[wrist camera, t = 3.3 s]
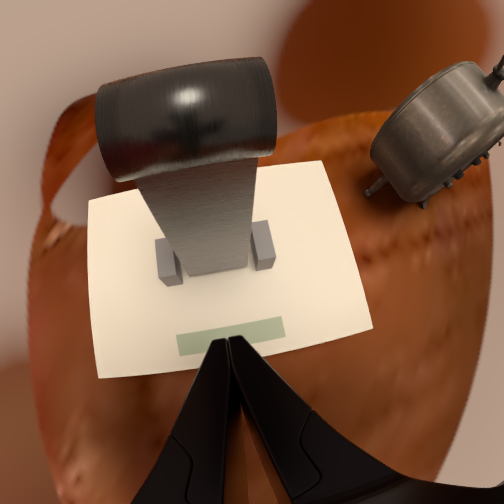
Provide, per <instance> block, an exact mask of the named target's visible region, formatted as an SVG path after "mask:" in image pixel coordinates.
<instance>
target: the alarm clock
mask: <svg viewBox="0 0 504 504" xmlns="http://www.w3.org/2000/svg"><path fill="white" fill-rule="evenodd" d="M503 65H504V55H503V56H502V59H501V60H500V62H499V64H498V65H496V66H494V68H493V72H492V73H491V74H489V76H487V75H486V74H485V73H484V72H483V71H482V70H481V69H480V68H479V67H478V65H477V64H476V63H474V62H470V61H463V62H459V63H456V64H454V65H451V66H449V67H448V68H445V69H443V70H442V71H440V72H438V73H437V74H435V75H434V76H432V77H430V78H429V79H428V80H427V81H425V82H423V84H422V85H420V86H419V87H418V88H417V89H416V90H415V91H414V92H412V93H411V94H410V95H409V96H408V97H407V98H406V99H405V100H404V101H403V103H401V104H400V105H399V106H398V108H397V109H396V110H395V111H394V112H393V113H392V114H391V116H390V117H389V118H388V119H387V121H386V122H385V123H384V124H383V126H382V127H381V129H380V130H379V132H378V134H377V135H376V137H375V139H374V141H373V143H372V145H371V149H370V157H371V159H372V161H374V162H375V164H376V165H377V166H378V167H379V169H380V170H381V171H382V173H383V175H382V176H381V177H380V178H379V179H378V180H376V182H375V183H374V184H373V185H372V186H371V187H370V189H366V190H365V191H364V196H365V197H371V195H372V194H373V193H374V192H375V191H377V190H379V189H380V188H382V187H384V186H385V185H386V184H387V183H389V182H390V184H391V185H392V186H393V188H394V189H395V191H396V192H397V194H398V195H399V196H400V198H401V199H402V200H404V201H406V202H411V203H416V202H421V201H423V200H424V201H423V208H426V206H427V203H428V200H429V198H430V196H433V195H434V194H435V193H437V192H438V191H439V190H440V189H441V188H443V187H444V186H445V188H447V189H448V188H450V187H451V186H452V182H451V181H452V180H453V179H457V180H459V179H460V178H462V177H463V176H464V174H463V171H465V170H466V169H467V168H468V167H470V166H471V165H472V164H473V165H479V164H480V163H481V161H480V159H479V158H480V157H482V156H483V157H484V158H485V159H488V158H489V153H488V152H487V151H489V150H490V149H491V148H492V147H493V146H494V145H495V144H496V143H497V142H499V140H501V138H502V137H504V95H503V94H502V92H501V91H500V90H499V89H498V86H499V84H500V83H501V81H502V80H504V68H503ZM501 144H502V143H501V142H499V146H500V145H501Z"/></svg>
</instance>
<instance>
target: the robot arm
mask: <svg viewBox="0 0 504 504" xmlns="http://www.w3.org/2000/svg"><path fill="white" fill-rule="evenodd" d="M227 340H228V341H227ZM240 403H241V404H240ZM241 407H242V409H241ZM242 410H243V413H244V416H245V419H246V422H247V425H248V427H249V430H250V433H251V435H252V438H253V441H254V443H255V446H256V449H257V451H258V454H259V456H260V459H261V461H262V464H263V467H264V469H265V472H266V474H267V476H268V479H269V481H270V484H271V486H272V489H273V491H274V493H275V496H276V498H277V501H278V503H279V504H504V481H503V482H501V483H500V484H499V485H497V486H496V487H492V488H474V487H465V486H456V485H449V484H441V483H435V482H430V481H424V480H419V479H414V478H411V477H408V476H405V475H403V474H401V473H399V472H397V471H395V470H393V469H391V468H390V467H388V466H386V465H385V464H383V463H382V462H380V461H379V460H377V459H376V458H374V457H373V456H371V455H369V454H368V453H366V452H365V451H364V450H362V449H361V448H359V447H358V446H356V445H355V444H353V443H352V442H351V441H349V440H348V439H347V438H345V437H344V436H343V435H341V434H340V433H339V432H337V431H336V430H335V429H334V428H333V427H332V426H330V425H329V424H328V423H327V422H326V421H325V420H324V419H323V418H322V417H321V416H320V415H319V414H318V413H317V412H316V411H315V410H312V408H311V407H310V406H309V405H308V404H307V403H306V402H305V401H304V400H303V399H302V398H301V397H300V396H299V395H298V394H297V393H296V392H295V391H294V390H293V389H292V388H291V386H290V385H289V384H288V383H287V382H286V381H285V380H284V379H283V378H282V377H281V376H280V375H279V374H278V373H277V372H276V371H275V370H274V369H273V368H272V367H271V366H270V365H269V364H268V362H267V361H266V360H265V359H264V358H263V357H262V356H261V355H260V354H259V353H258V352H257V351H256V350H255V348H254V347H253V346H252V345H251V344H250V343H249V342H248V341H247V340H246V339H245V338H244V336H242V335H236V336H230V337H228V339H226V338H219V339H214V340H212V341H211V343H210V345H209V348H208V350H207V352H206V354H205V356H204V359H203V361H202V363H201V365H200V367H199V370H198V372H197V374H196V376H195V379H194V381H193V383H192V385H191V387H190V390H189V392H188V394H187V396H186V398H185V401H184V403H183V405H182V407H181V410H180V412H179V414H178V416H177V418H176V421H175V423H174V425H173V427H172V430H171V432H170V434H171V435H169V436H168V438H167V440H166V443H165V445H164V447H163V449H162V451H161V453H160V455H159V457H158V459H157V461H156V463H155V465H154V466H153V468H152V470H151V471H150V473H149V475H148V476H147V478H146V480H145V481H144V483H143V484H142V486H141V487H140V489H139V491H138V492H137V494H136V495H135V497H134V498H133V500H132V501H131V503H130V504H249V503H248V491H247V478H246V464H245V451H244V436H243V421H242Z"/></svg>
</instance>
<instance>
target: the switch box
mask: <svg viewBox="0 0 504 504" xmlns="http://www.w3.org/2000/svg"><path fill="white" fill-rule="evenodd" d="M88 285H89V302H90V315H91V326H92V335H93V343H94V351H95V358H96V365H97V371H98V377H99V378H112V377H125V376H137V375H147V374H156V373H165V372H173V371H181V370H188V369H195V368H199V367H200V365H201V363H202V361H203V359H204V356H205V354H206V352H207V350H208V348H209V345H210V343H211V341H212V340H214V339H219V338H226V339H228V337H230V336H236V335H242V336H244V338H245V339H246V340H247V341H248V342H249V343H250V344H251V345H252V346H253V347H254V348H255V350H256V351H257V352H258V353H259V354H260V355H261V356H262V357H263V356H268V355H273V354H277V353H282V352H286V351H291V350H295V349H299V348H304V347H308V346H312V345H316V344H320V343H324V342H327V341H331V340H335V339H338V338H342V337H346V336H349V335H353V334H356V333H360V332H363V331H366V330H370V329H373V326H372V322H371V317H370V313H369V309H368V305H367V301H366V298H365V294H364V290H363V286H362V283H361V279H360V275H359V272H358V268H357V265H356V262H355V258H354V255H353V251H352V248H351V245H350V242H349V238H348V235H347V232H346V229H345V226H344V223H343V220H342V217H341V214H340V211H339V208H338V205H337V202H336V199H335V196H334V193H333V191H332V188H331V185H330V182H329V180H328V177H327V174H326V171H325V169H324V166H323V163H322V161H311V162H301V163H292V164H283V165H275V166H267V167H260V168H257V174H256V184H255V194H254V205H253V215H252V225H251V235H250V245H249V256H248V266H245V267H239V268H234V269H228V270H222V271H217V272H211V273H205V274H200V275H194V276H189V275H188V274H187V272H186V271H185V269H184V267H183V266H182V264H181V262H180V261H179V259H178V257H177V256H176V254H175V252H174V251H173V249H172V247H171V246H170V244H169V242H168V241H167V239H166V237H165V236H164V234H163V232H162V230H161V229H160V227H159V225H158V223H157V222H156V220H155V218H154V217H153V215H152V213H151V211H150V209H149V208H148V206H147V204H146V202H145V201H144V199H143V197H142V195H141V193H140V191H139V190H138V189H136V190H131V191H126V192H122V193H118V194H113V195H109V196H105V197H101V198H98V199H93V200H89V209H88ZM227 341H228V340H227Z"/></svg>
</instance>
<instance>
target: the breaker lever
mask: <svg viewBox="0 0 504 504" xmlns="http://www.w3.org/2000/svg"><path fill="white" fill-rule="evenodd" d="M95 125H96V133H97V139H98V144H99V147H100V151H101V154H102V157H103V160H104V163H105V165H106V167H107V169H108V171H109V173H110V174H111V176H112V177H113V178H114V179H115V180H116V181H118V182H123V181H127V180H132V179H133V180H134V182H135V184H136V186H137V188H138V190H139V191H140V193H141V195H142V197H143V199H144V201H145V202H146V204H147V206H148V208H149V209H150V211H151V213H152V215H153V217H154V218H155V220H156V222H157V223H158V225H159V227H160V229H161V230H162V232H163V234H164V236H165V237H166V239H167V241H168V242H169V244H170V246H171V247H172V249H173V251H174V252H175V254H176V256H177V257H178V259H179V261H180V262H181V264H182V266H183V267H184V269H185V271H186V272H187V274H188V275H189V276H194V275H200V274H205V273H211V272H217V271H222V270H228V269H234V268H239V267H245V266H248V256H249V245H250V235H251V225H252V215H253V205H254V194H255V184H256V174H257V164H258V157H263V156H270V155H272V154H273V152H274V149H275V145H276V138H277V111H276V102H275V94H274V88H273V84H272V79H271V75H270V72H269V69H268V67H267V64H266V62H265V61H264V59H263V58H262V57H248V58H235V59H226V60H216V61H209V62H201V63H195V64H189V65H182V66H177V67H171V68H166V69H162V70H157V71H152V72H148V73H143V74H139V75H135V76H131V77H127V78H123V79H120V80H116V81H113V82H109V83H106V84H103V85H101V86H100V88H99V90H98V92H97V96H96V101H95Z"/></svg>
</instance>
